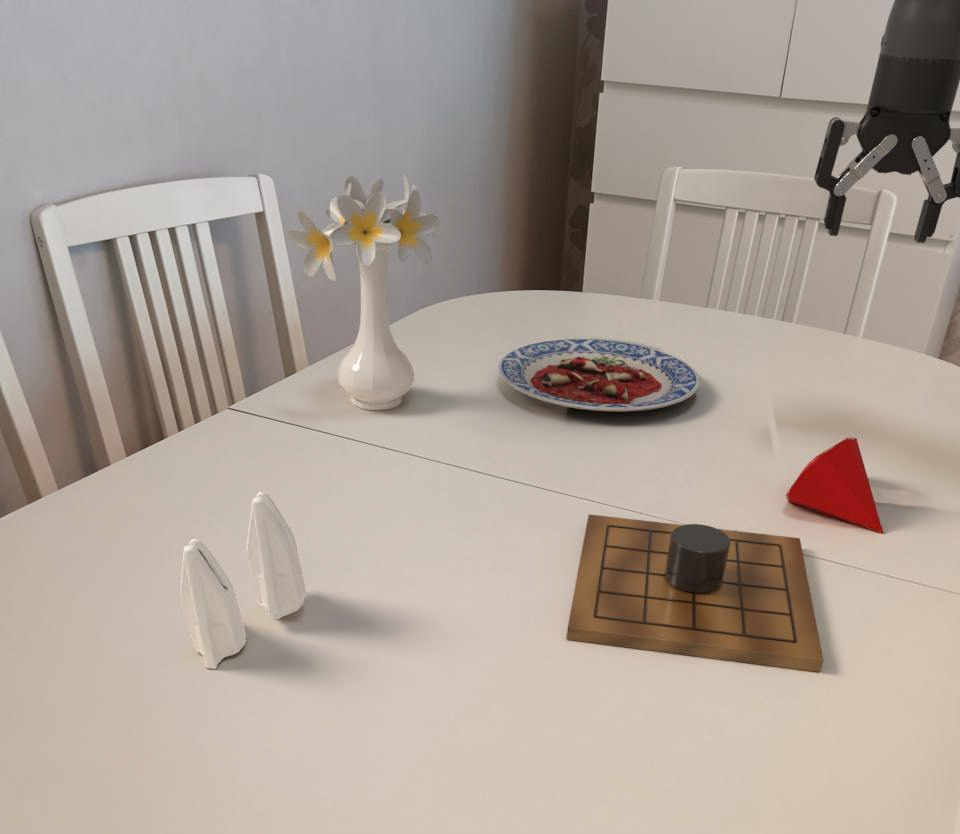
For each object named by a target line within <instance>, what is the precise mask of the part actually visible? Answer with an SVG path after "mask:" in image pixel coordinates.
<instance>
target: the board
mask: <svg viewBox="0 0 960 834" xmlns="http://www.w3.org/2000/svg"><path fill="white" fill-rule="evenodd" d="M586 520H587V521H586V527H585V531H584V537H583V542H582V548H581V553H580V560H579V565H578V570H577V575H576V580H575V586H574V590H573V597H572V601H571V608H570V613H569V619H568V623H567V630H566V640H568V641H575V642H577V641H578V642H584V643H593V644H600V645H607V646H616V647H622V648H631V649H639V650H647V651H653V652H661V653H670V654H676V655H683V656H684V655H685V656H686V655H687V656H692V657H699V658H700V657H701V658H708V659H715V660H724V661H730V662H731V661H732V662H737V663H738V662H739V663H748V664H754V665H761V666H762V665H763V666H769V667H777V668H784V669H793V670H800V671H808V672H817V673H820V672H821V671H822V668H823V664H824V654H823V649H822V645H821V640H820V635H819V630H818V624H817V619H816V614H815V609H814V604H813V599H812V593H811V588H810V584H809V578H808V573H807V567H806V563H805V557H804V553H803V548H802V542H801V538H800V537H794V536H784V535H776V534H767V533H757V532H748V531H739V530H731V529H722V528H718V529H719V530H721V531H722V532H724V533H725V534H726V535H727V536H728V537H729V538H730V542H731V543H730V548H729V553H728V558H727V563H726V567H725V572H724V577H723V582H722V585H721V586H720V587H719V588H718V589H717V590H714V591H712V592H707V593H693V592H687V591H684V590H681V589H678V588H676V587H674V586H672V585H671V584H670V583H669V582H668V581H667V580H666V578H665V568H666V562H667V556H668V550H669V544H670V538H671V533H672V531H673V530H674V529H675V528H677V527H679V526H682V525H683V524H679V523H678V524H677V523H669V522H660V521H651V520H642V519H633V518H624V517H616V516H608V515H606V516H605V515H598V514H590V513H589V514H588V516H587V519H586Z"/></svg>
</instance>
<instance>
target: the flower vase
mask: <svg viewBox="0 0 960 834" xmlns="http://www.w3.org/2000/svg"><path fill="white" fill-rule="evenodd" d="M343 184H344V185H343V189H344V193H342V194H341V193H340V195H338V196H337V197H333V198H332V199H331V201H330V203H329V207H327V209H326V210H325V215H326V216H327V217H329V218H330V219H332V220H333V221H334V222H335V223H330V224H328V225H327V226H325V227H324V228H323V230H321V229H320V228H319V227H318V226H317V225H316V224H315V223H314V222H313V220H312V219H311V218H310V217H309V216H308V214H306V212H305V211H303V210H299V211H298V213H297V215H298V220H299V223H300V225H301V227H302V228H303V229H304V230H300V229H296V228H289V229H287V230H286V231H285V236H286V238H287V239H288V240H289V241H290V243H292V245H294V246H295V247H299V248H300V249H304V250H305V249H306V250H307V249H308V250H307V252H306V253H305V256H304V259H303V270H304V273H305V275H306V276H307V277H309V278H313V277H315V276H316V274H317V273H318V271H319V269H320V267H321V265H322V268H323V271H324V273H325V275H326V276H327V278H328V279H329V280H330V281H331V282H334V283H335V282H336V281H337V273H336V269H335V263H334V260H333V252H334V249H335V247H346V246H351V245H353V247H354V250H355V252H356V257H357V258H356V259H357V263H358V268H359V277H360V278H359V279H360V318H359V328H358V333H357V335H356V338H355V341H354V343H353V345H352V347H351V348H350V349H349V350H348V351H347V352H346V353H345V354H344V356H343V358H341V360H340V362H339V364H338V368H337V371H336V373H337V374H336V377H337V383H338V384H339V385H340V387H341V388H342V390H343V391H344V393H346V394H347V395H348V396H350V400H351V403H352V404H353V405H354V406H356V407H357V408H360V409H361V410H362V409H363V410H367V411H387V410H391V409H394V408H396V407H398V406H400V405H401V403H402V401H403V396H404V395H405V394H407V393H408V392H409V391H410V390H411V388H412V386H413V384H414V382H415V378H416V375H415V370H414V367H413V364H412V362H411V360H410V358H409V357H408V356H407V355H406V354H405V353H404V352H403V351H402V350H401V348H400V347H399V346H398V345H397V343H396V341H395V339H394V336H393V333H392V330H391V325H390V322H389V321H390V320H389V319H390V318H389V310H388V291H387V271H388V261H389V254H390V250H391V247H392V245H393V244H395V243H397V257H398V260H399V261H400V262H401V263H405V262H407V260H408V259H409V258H410V255H411V250H412V251H413V252H414V254H415V255H416V256H417V257H418V258H419V260H421V262H423V263H424V264H426V265H427V264H428V265H430V264H431V262H432V259H433V258H432V251H431V248H430V246H429V244H428V242H426V240H425V239H423V238H422V237H425V236H429V235H431V236H432V237H434V238H435V239H437V236H436V234H435V233H434V232H436V231H438V228H439V226H440V222H441V221H440V218H439V217H438V216H437V215H435V214H433V213H432V214H431V213H428V214H426V213H425V212H423V211H420V209H421V204H422V201H421V195H420V192H419V190H418V188H417V187H416V185H414V184H412V186H411V188H410V184H409V180H408V177H407V176H406V173H403V186H404V187H403V188H404V189H403V190H404V191H403V192H404V193H403V196H404V197H403V199H399V200H394V201H391V202H389V203H388V198H387V195H386V194H385V193H384V192H382V191H383V188H384V185H385V182H384V180H383V178H377V179H376V180H374V181H373V182H371V183H370V184H369V186H368V188H367V189H366V192H364V190H363V189H364V188H363V187H362V184H361V183H360V181H359V180H358V178H357V177H355V176H353V175H349V176H347V177H346V178H345V180H344V183H343ZM401 207H403V209H402V211H400V210H399V209H400V208H401ZM388 217H389V218H388ZM386 218H388V219H386ZM385 219H386V220H385Z"/></svg>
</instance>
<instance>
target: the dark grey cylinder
mask: <svg viewBox="0 0 960 834" xmlns="http://www.w3.org/2000/svg"><path fill="white" fill-rule="evenodd" d="M681 525H682V526H679V527H677V528H675V529H674V530H673V531H672V533H671V538H670V544H669V550H668V556H667V562H666V568H665V578H666V580H667V581H668V582H669V583H670V584H671V585H672V586H674V587H676V588H678V589H681V590H684V591H687V592H693V593H707V592H712V591H714V590H717V589H718V588H719V587H720V586H721V585H722V582H723V577H724V572H725V567H726V563H727V558H728V553H729V548H730V543H731V542H730V538H729V537H728V536H727V535H726V534H725V533H724V532H722V531H721V530H719V529H720V528H717V527H714V526H711V525H707V524H700V523H699V524H698V523H688V524H681Z"/></svg>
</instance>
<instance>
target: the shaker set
mask: <svg viewBox="0 0 960 834" xmlns="http://www.w3.org/2000/svg"><path fill="white" fill-rule="evenodd" d="M182 551H183V553H182V563H181V576H180V591H179V593H180V595H179V596H180V603H181V608H182V611H183V615H184V617H185V620H186V623H187V626H188V630H189V633H190V636H191V640H192V643H193V645H194V650H195V652H196V653H200V655H202V656H203V658H204V667H205V668H207V669H208V670H209V669H211V670H216V669H217V667H218V665H219V663H221V662H222V661H223V659H226V657H227V658H229V657H231V656H233V655H236V654H238V653H239V652H240V651H241V650H242V648H243V647H244V646H245V644H246V642H247V641H246V639H247V631H246V628H245V625H244V621H243V617H242V613H241V610H240V606H239V603H238V599H237V595H236V593H235V589H234V586H233V583H232V582H231V579H230V578H229V577H228V575H227V574H226V572H225V570H224V568H222V566H221V565H220V563H219V561H218V560H217V559H216V557H215V556H214V555H213V553H212V552H211V551H210V549H209V548H208V547H207V546H206V544H204V542H203V541H202V540H200V539H197V538H191V539H190V540H189V543H188V545H186V546H184V548H183V550H182ZM246 555H247V560H248V564H249V568H250V569H249V570H250V572H251V576H252V580H253V585H254V589H255V593H256V598H257V603H258V605H259V606H260V607H261V608H262V609H263V610H264V611H265V612H266V613H267V617H268V618H269V619H272V620H279V619H281V618H282V617H286V616H289V615H292V614H293V613H295V612H298V611H299V610H300V609H301V607H302V606H303V604H304V602H305V601H306V597H307V588H306V585H305V579H304V573H303V570H302V565H301V560H300V554H299V551H298V546H297V542H296V538H295V536H294V534H293V531H292V530H291V527H290V526H289V525H288V523H287V521H286V518H284V516H283V514H282V513H281V511H280V510H279V507H277V505H276V503H275V502H274V501H273V500H272V498H271V497H270V496H269V494H268V493H265V492H262V491H259V492H258V493H256V495H255V497H254V498H253V499H252V501H251V505H250V513H249V521H248V531H247V539H246Z"/></svg>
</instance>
